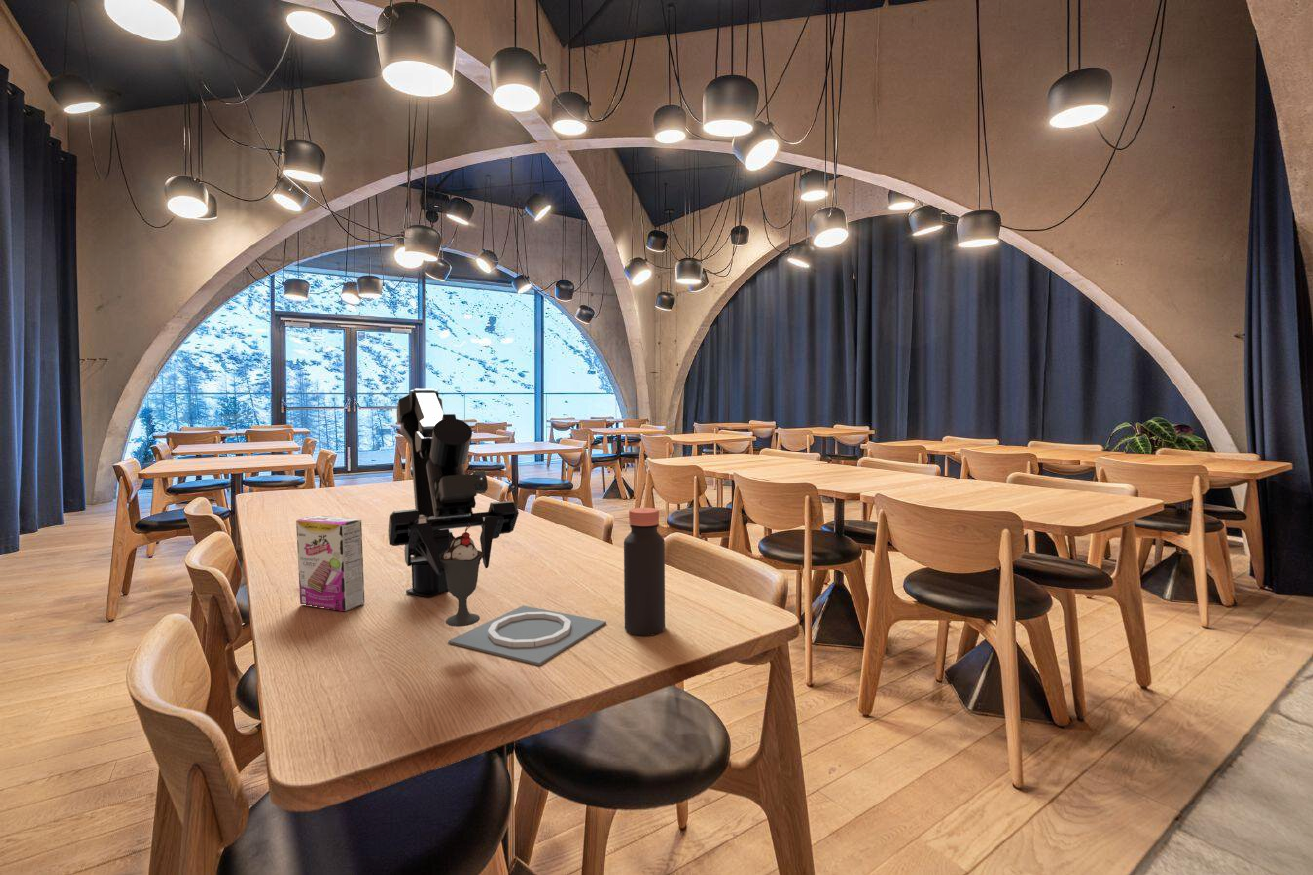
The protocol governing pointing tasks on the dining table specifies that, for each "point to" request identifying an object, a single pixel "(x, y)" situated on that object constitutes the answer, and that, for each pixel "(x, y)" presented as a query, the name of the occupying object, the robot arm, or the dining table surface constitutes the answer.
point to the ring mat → (528, 634)
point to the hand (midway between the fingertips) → (463, 570)
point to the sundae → (462, 575)
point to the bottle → (644, 574)
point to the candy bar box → (330, 562)
